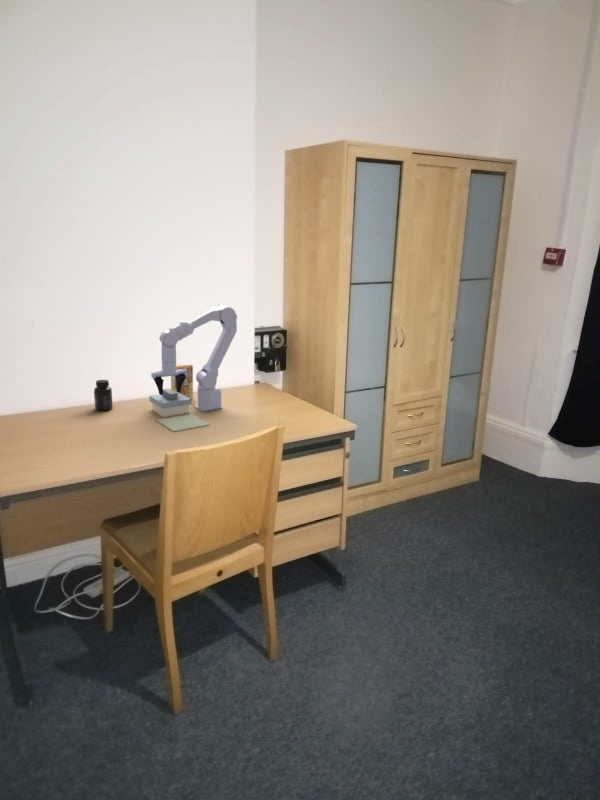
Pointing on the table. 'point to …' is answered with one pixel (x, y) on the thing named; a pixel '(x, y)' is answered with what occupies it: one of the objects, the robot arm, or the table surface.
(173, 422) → the mat
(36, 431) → the table surface
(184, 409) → the storage box
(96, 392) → the supplement bottle
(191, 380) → the candy box
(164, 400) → the lid
